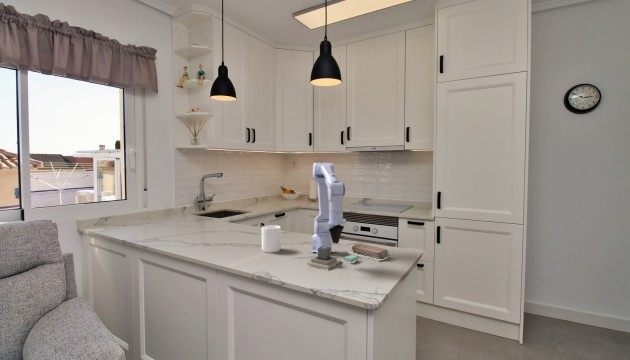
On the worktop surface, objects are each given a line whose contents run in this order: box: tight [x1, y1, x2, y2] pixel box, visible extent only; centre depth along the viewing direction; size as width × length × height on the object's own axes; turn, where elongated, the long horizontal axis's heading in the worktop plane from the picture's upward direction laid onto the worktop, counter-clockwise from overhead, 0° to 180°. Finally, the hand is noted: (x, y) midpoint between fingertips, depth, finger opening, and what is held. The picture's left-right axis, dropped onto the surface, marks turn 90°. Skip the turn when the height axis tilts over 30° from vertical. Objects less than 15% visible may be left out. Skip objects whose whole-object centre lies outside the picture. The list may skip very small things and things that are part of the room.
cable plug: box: [343, 254, 359, 263], centre depth 135 cm, size 4×6×2 cm, turn 136°
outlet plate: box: [306, 255, 342, 270], centre depth 132 cm, size 10×12×3 cm
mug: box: [261, 224, 282, 254], centre depth 152 cm, size 9×12×12 cm
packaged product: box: [351, 242, 391, 261], centre depth 144 cm, size 18×5×10 cm
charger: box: [317, 246, 332, 261], centre depth 131 cm, size 4×4×6 cm
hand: (335, 242), depth 129 cm, fingers closed
